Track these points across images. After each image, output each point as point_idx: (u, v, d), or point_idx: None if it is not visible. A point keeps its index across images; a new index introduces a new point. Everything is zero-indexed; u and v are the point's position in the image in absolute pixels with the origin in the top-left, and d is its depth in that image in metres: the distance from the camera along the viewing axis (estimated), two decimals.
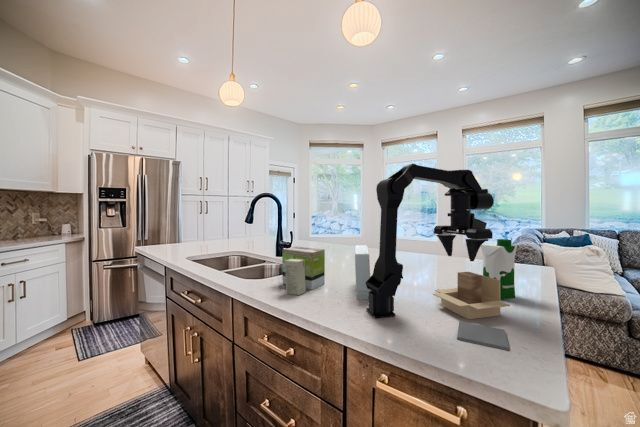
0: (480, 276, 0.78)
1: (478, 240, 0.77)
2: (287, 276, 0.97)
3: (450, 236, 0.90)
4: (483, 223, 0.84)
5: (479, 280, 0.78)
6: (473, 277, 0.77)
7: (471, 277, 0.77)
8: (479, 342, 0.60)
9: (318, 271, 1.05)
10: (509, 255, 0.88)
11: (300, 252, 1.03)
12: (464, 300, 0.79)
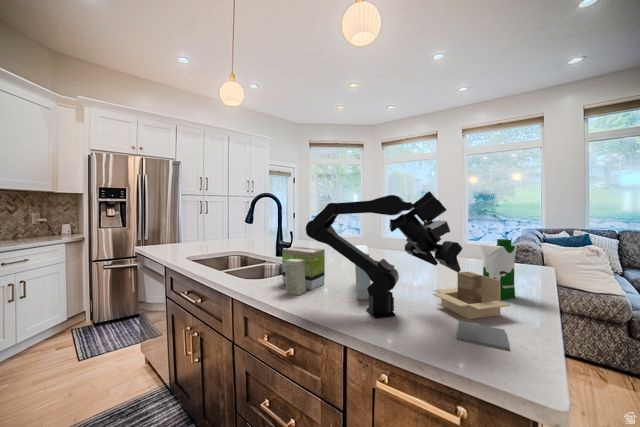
0: (480, 276, 0.78)
1: None
2: (287, 276, 0.97)
3: None
4: (443, 225, 0.75)
5: (479, 280, 0.78)
6: (473, 277, 0.77)
7: (471, 277, 0.77)
8: (479, 342, 0.60)
9: (318, 271, 1.05)
10: (509, 255, 0.88)
11: (300, 252, 1.03)
12: (464, 300, 0.79)
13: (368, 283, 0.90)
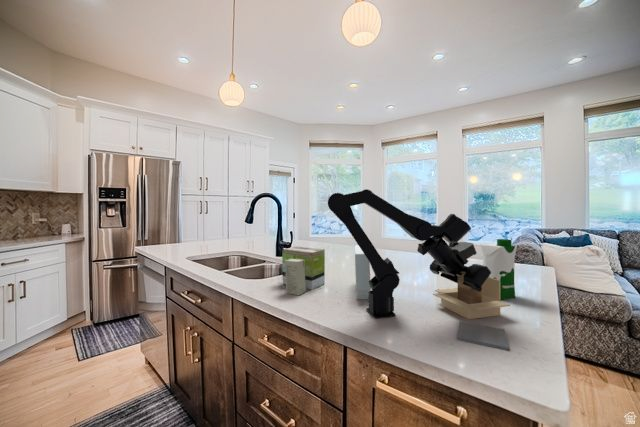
0: None
1: None
2: (287, 276, 0.97)
3: None
4: (470, 248, 0.77)
5: None
6: None
7: None
8: (479, 342, 0.60)
9: (318, 271, 1.05)
10: (509, 255, 0.88)
11: (300, 252, 1.03)
12: (464, 300, 0.79)
13: (368, 283, 0.90)
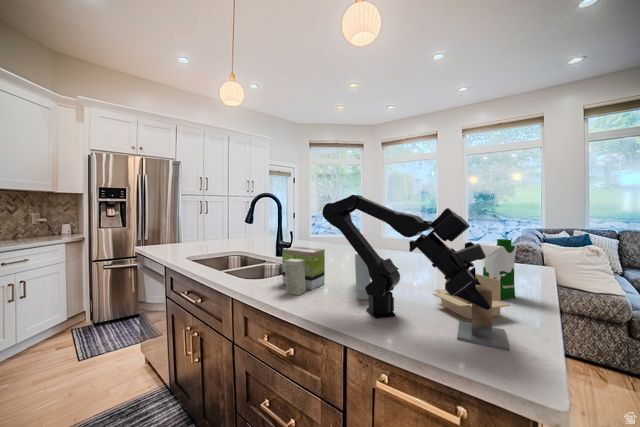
0: (489, 292, 0.61)
1: (460, 291, 0.59)
2: (287, 276, 0.97)
3: None
4: (472, 250, 0.63)
5: (488, 298, 0.61)
6: None
7: None
8: (479, 342, 0.60)
9: (318, 271, 1.05)
10: (509, 255, 0.88)
11: (300, 252, 1.03)
12: None
13: (368, 283, 0.90)
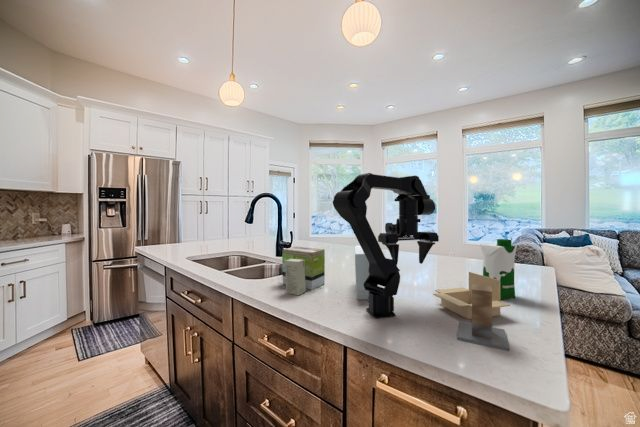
0: (489, 292, 0.61)
1: None
2: (287, 276, 0.97)
3: None
4: None
5: (488, 298, 0.61)
6: (477, 291, 0.62)
7: (473, 290, 0.63)
8: (479, 342, 0.60)
9: (318, 271, 1.05)
10: (509, 255, 0.88)
11: (300, 252, 1.03)
12: None
13: None
